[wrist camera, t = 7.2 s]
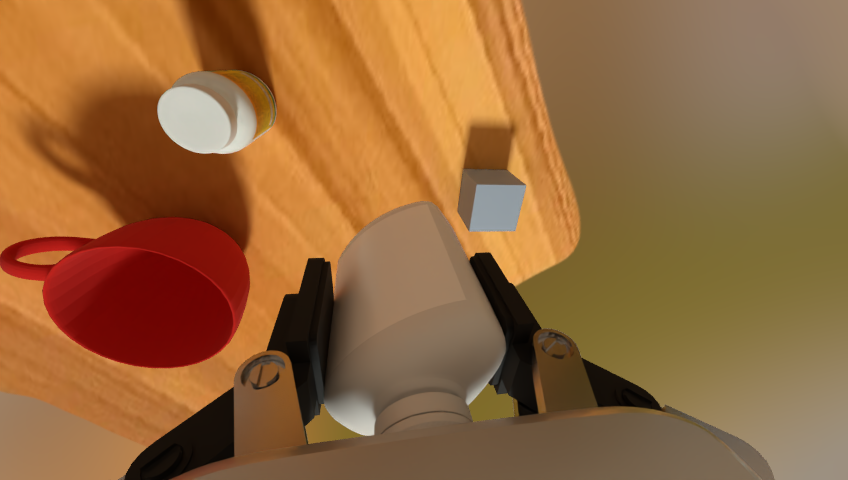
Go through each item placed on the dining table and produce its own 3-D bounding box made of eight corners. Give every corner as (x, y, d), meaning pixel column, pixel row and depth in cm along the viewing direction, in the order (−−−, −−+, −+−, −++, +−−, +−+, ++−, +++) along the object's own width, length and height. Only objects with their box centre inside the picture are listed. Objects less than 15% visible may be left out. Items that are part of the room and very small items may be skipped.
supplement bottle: (250, 147, 29) (204, 181, 21) (197, 96, 27) (121, 113, 18) (291, 109, 28) (260, 130, 20) (240, 54, 26) (181, 51, 18)
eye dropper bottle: (325, 210, 14) (217, 651, 4) (449, 194, 14) (655, 536, 4) (345, 287, 16) (312, 689, 6) (451, 270, 17) (589, 610, 6)
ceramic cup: (86, 151, 27) (-42, 192, 19) (283, 223, 34) (254, 279, 25) (76, 264, 32) (-30, 337, 24) (250, 309, 38) (216, 381, 30)
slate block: (463, 168, 34) (476, 184, 29) (506, 169, 35) (526, 185, 30) (457, 211, 36) (469, 231, 32) (498, 211, 37) (515, 231, 33)
